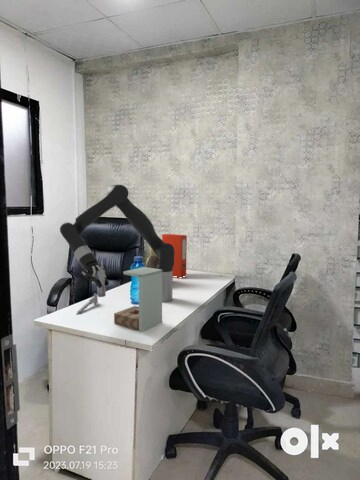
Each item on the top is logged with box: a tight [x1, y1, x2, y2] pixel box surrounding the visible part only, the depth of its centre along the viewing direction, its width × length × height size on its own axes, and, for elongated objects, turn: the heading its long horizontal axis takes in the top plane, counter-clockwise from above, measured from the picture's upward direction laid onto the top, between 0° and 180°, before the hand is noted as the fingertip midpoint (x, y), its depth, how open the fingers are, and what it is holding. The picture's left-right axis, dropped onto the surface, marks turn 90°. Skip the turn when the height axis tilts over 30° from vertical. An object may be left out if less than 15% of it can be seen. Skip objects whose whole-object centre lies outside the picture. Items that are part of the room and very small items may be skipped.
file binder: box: [161, 233, 188, 277], centre depth 258 cm, size 8×17×32 cm, turn 57°
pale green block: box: [122, 266, 163, 333], centre depth 155 cm, size 11×14×25 cm
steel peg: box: [96, 270, 106, 298], centre depth 156 cm, size 4×4×12 cm
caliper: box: [75, 292, 99, 316], centre depth 179 cm, size 20×1×6 cm, turn 165°
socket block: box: [113, 305, 139, 331], centre depth 158 cm, size 14×14×5 cm
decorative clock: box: [145, 247, 160, 269], centre depth 235 cm, size 28×13×30 cm, turn 159°
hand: (104, 285), depth 155 cm, fingers closed on steel peg, 3 cm apart
